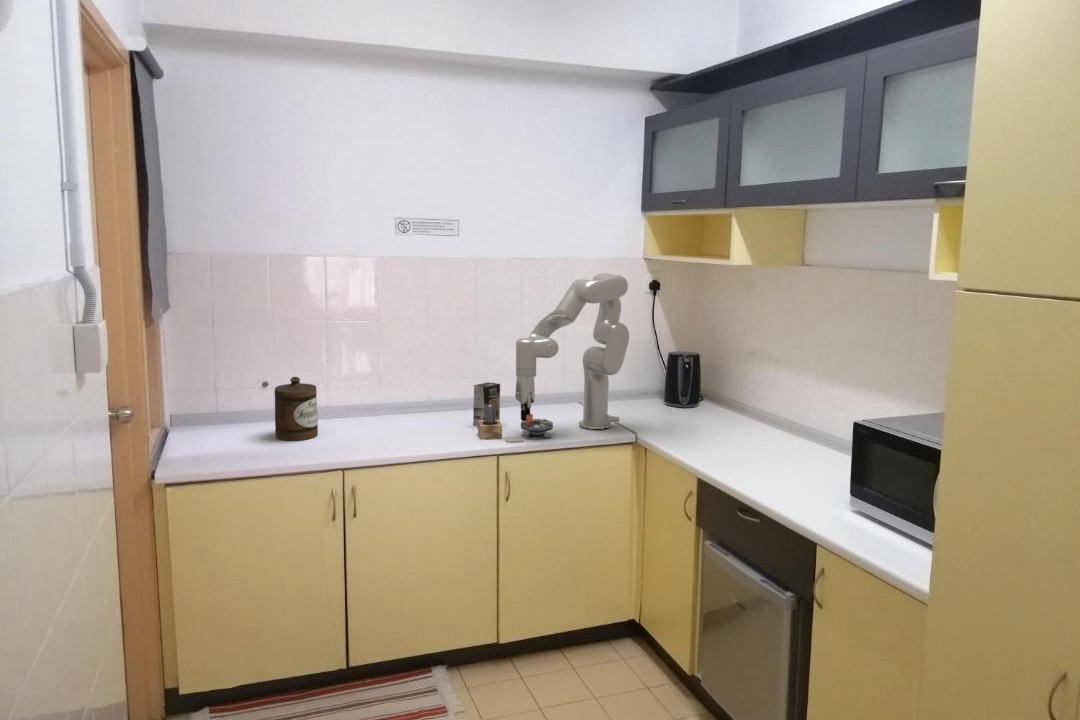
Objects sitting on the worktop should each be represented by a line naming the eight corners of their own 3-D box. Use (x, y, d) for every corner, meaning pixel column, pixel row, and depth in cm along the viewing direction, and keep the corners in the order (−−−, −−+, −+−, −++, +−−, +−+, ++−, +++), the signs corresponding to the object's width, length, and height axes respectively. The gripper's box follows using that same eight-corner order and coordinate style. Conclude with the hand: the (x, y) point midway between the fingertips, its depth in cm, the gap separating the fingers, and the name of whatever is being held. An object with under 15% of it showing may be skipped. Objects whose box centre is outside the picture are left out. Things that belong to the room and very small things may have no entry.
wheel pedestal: (545, 431, 300) (546, 425, 300) (550, 438, 291) (551, 431, 291) (522, 432, 298) (522, 426, 298) (527, 439, 290) (527, 432, 289)
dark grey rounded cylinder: (494, 434, 295) (494, 403, 293) (495, 437, 291) (496, 405, 289) (483, 434, 294) (484, 403, 292) (485, 437, 290) (485, 406, 288)
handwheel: (532, 422, 302) (532, 406, 301) (558, 427, 296) (559, 411, 295) (514, 428, 292) (514, 412, 291) (540, 433, 286) (541, 417, 285)
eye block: (498, 432, 297) (499, 419, 297) (502, 438, 290) (502, 425, 289) (477, 433, 296) (478, 420, 295) (480, 439, 288) (480, 425, 287)
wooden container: (305, 442, 279) (303, 382, 275) (267, 439, 282) (265, 379, 278) (325, 432, 294) (323, 374, 290) (288, 429, 296) (286, 371, 293)
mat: (520, 437, 292) (520, 436, 291) (523, 441, 286) (523, 440, 286) (504, 438, 290) (504, 436, 290) (507, 442, 285) (507, 441, 285)
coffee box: (485, 427, 304) (485, 387, 301) (472, 425, 308) (473, 384, 305) (500, 423, 311) (500, 383, 308) (488, 420, 315) (488, 381, 312)
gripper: (510, 368, 295) (510, 415, 299) (521, 376, 281) (521, 425, 285) (529, 367, 297) (529, 414, 301) (541, 375, 283) (541, 424, 287)
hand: (525, 420), depth 293 cm, fingers closed
